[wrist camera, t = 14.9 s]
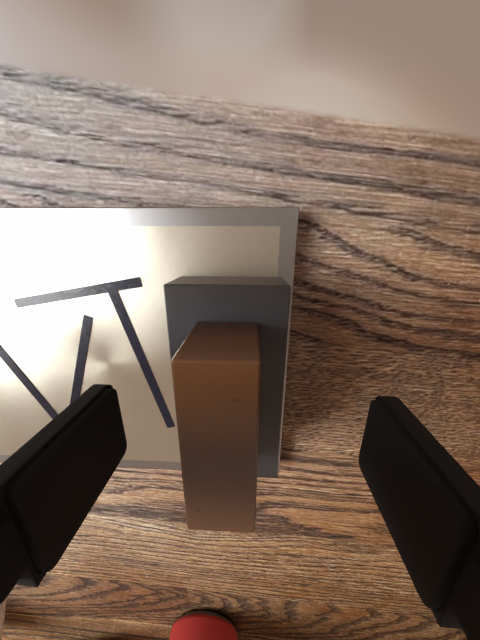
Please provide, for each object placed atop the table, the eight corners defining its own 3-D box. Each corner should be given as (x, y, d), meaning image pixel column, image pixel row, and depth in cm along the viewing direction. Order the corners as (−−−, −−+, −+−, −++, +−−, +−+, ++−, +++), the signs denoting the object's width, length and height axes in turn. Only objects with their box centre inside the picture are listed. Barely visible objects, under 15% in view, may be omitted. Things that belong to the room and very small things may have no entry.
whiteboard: (295, 210, 11) (299, 206, 10) (277, 461, 16) (279, 475, 15) (-95, 210, 12) (-127, 207, 11) (3, 450, 17) (-14, 463, 16)
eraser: (180, 275, 11) (115, 305, 6) (282, 277, 11) (314, 308, 6) (192, 436, 15) (157, 554, 9) (272, 440, 14) (286, 561, 9)
